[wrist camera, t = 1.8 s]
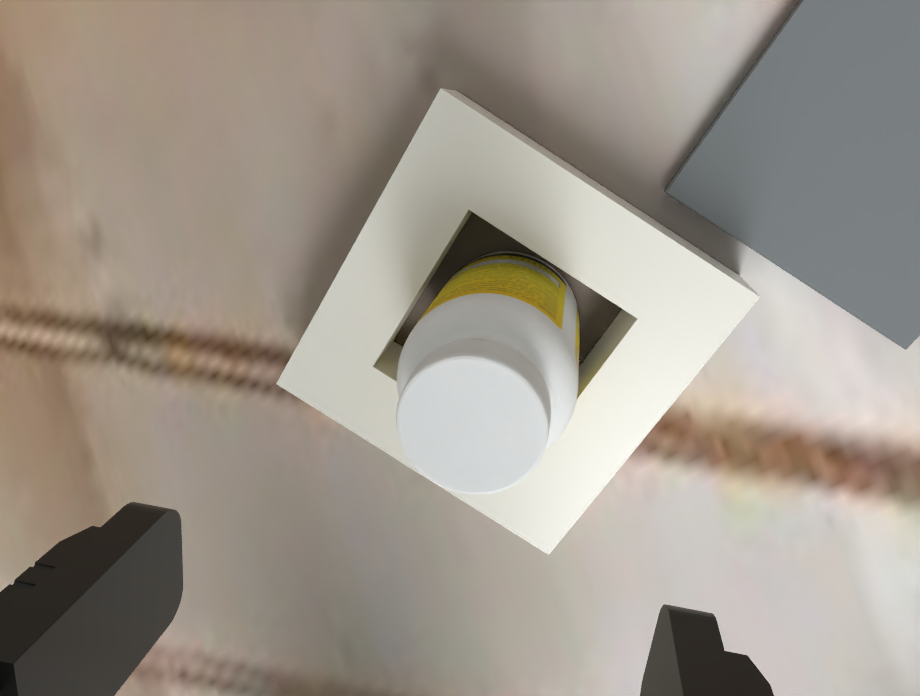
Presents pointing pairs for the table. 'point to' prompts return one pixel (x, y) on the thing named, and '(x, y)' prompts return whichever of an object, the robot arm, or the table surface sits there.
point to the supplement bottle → (489, 374)
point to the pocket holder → (558, 241)
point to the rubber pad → (826, 159)
